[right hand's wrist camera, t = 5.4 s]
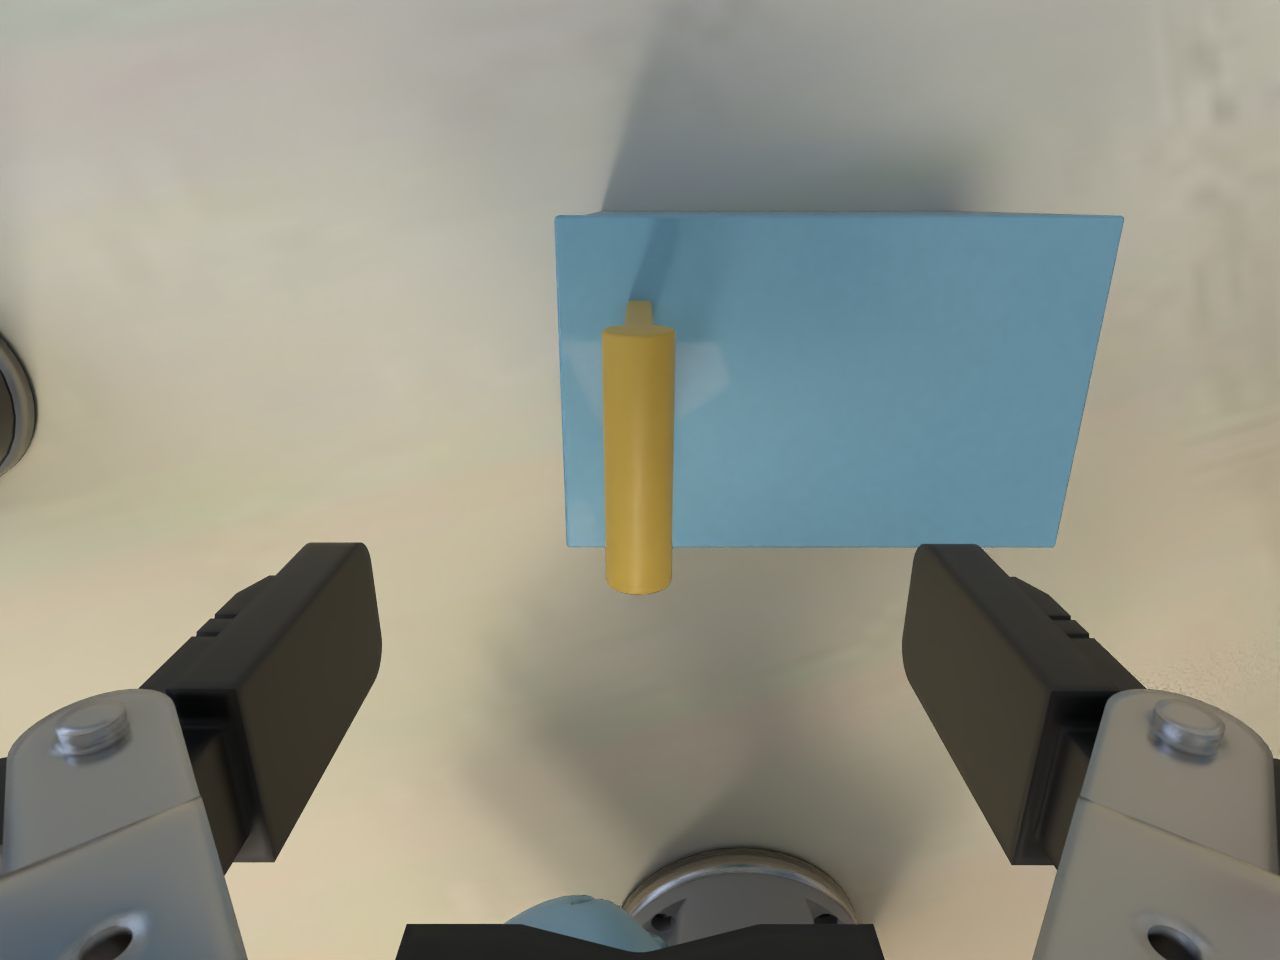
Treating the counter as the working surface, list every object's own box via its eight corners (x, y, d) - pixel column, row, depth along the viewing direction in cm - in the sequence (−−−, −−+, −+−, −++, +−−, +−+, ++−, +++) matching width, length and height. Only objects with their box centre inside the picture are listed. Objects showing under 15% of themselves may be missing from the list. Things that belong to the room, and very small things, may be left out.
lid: (569, 534, 26) (538, 675, 18) (558, 215, 22) (513, 222, 14) (1039, 535, 26) (1208, 676, 18) (1105, 215, 22) (1350, 222, 14)
